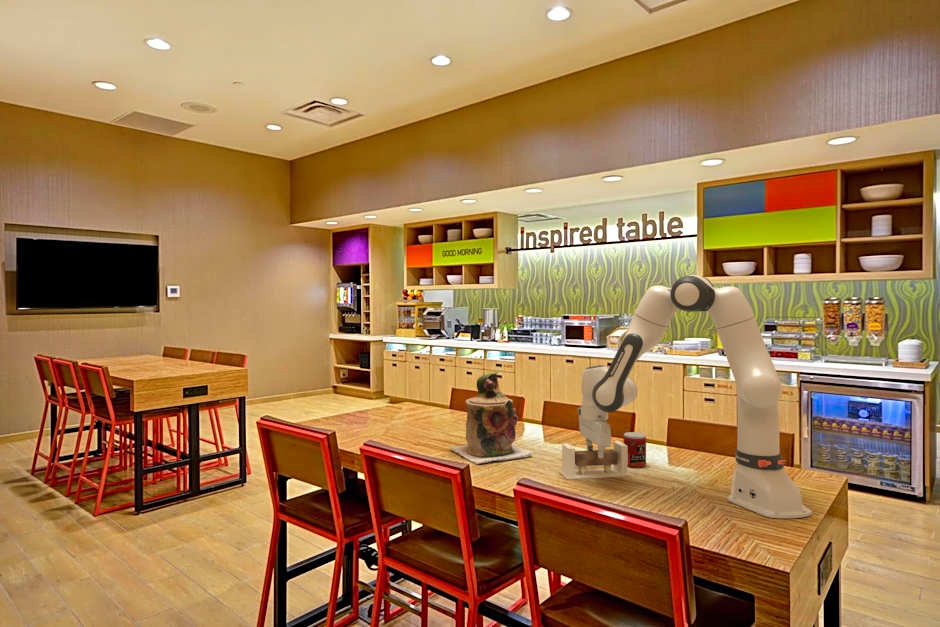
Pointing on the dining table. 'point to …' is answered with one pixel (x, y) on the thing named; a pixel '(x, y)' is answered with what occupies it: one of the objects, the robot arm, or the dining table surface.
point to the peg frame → (583, 473)
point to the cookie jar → (490, 425)
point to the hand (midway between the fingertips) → (595, 454)
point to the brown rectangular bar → (595, 458)
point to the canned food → (636, 449)
